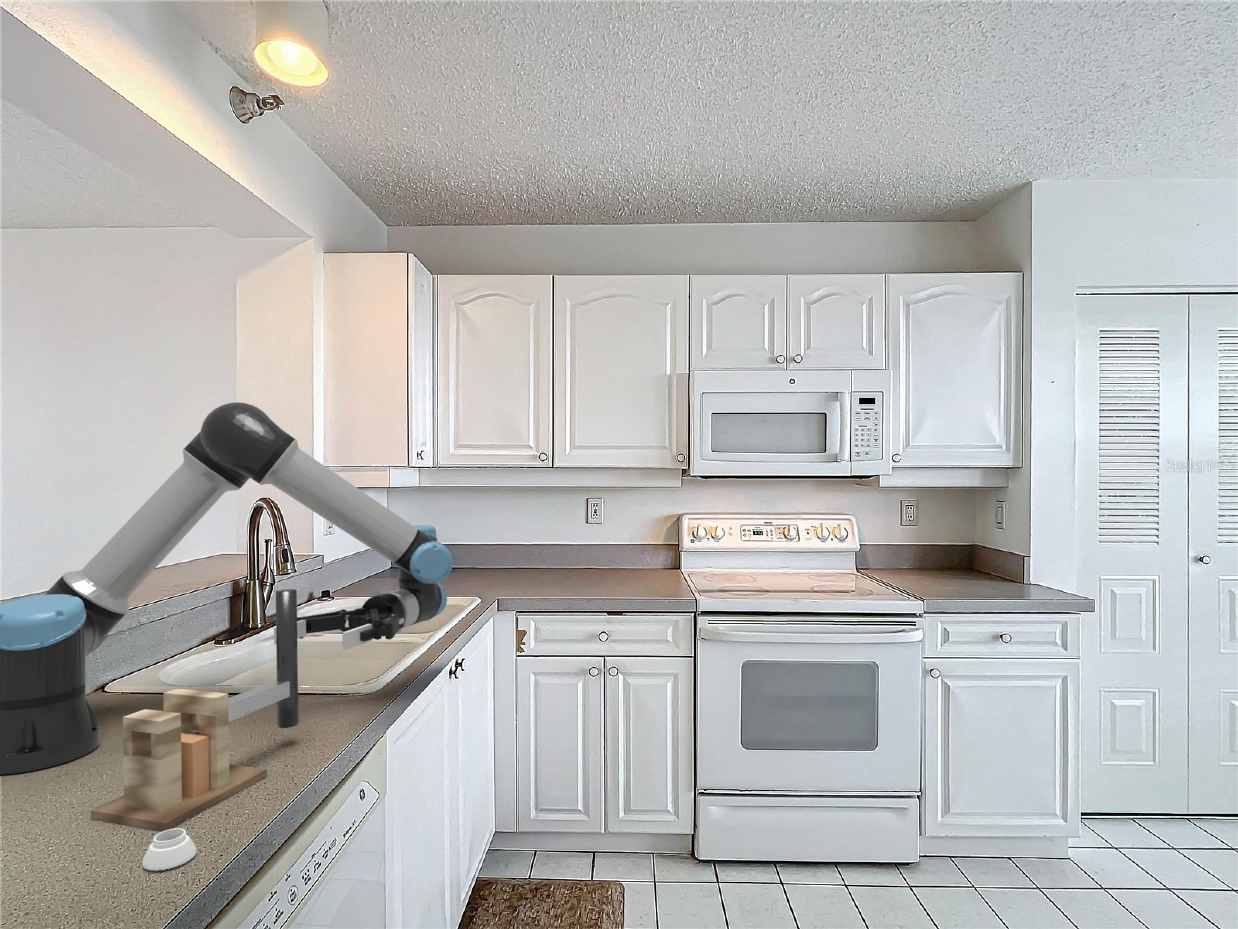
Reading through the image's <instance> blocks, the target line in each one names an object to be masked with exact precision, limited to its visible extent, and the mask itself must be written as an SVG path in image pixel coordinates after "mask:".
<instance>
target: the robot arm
mask: <svg viewBox="0 0 1238 929" xmlns="http://www.w3.org/2000/svg"><path fill="white" fill-rule="evenodd" d="M182 456H183V460H182V463H181V464H180V466H179V467H178V468H177V469H176V470H175V471H174V472H173V473H172V474H171V475H170V476H169V477H167V479H166V480H165V481H164V482H163V483H162V484H161V486H160V487H158V489H157V490H156V491H155V492H154V493H153V494H152V495H151V496H150V497H149V498H148V499H147V500H146V501H145V502H144V503H143V504H142V506H140V508H139V509H137V511H136V512H135V513H133V515H132V516H131V517H130V518H129V519H128V520H127V521H126V522H125V523H124V524H123V525H122V527H121V528H120V529H119V530H118V531H117V532H116V533H115V534H114V535H113V536H112V537H111V538H110V539H109V540H108V541H107V543H105V544H104V545H103V547H101V549H100V550H99V551H98V552H97V553H95V555H94V556H93V557H92V558H91V559H90V561H88V563H86V564H85V566H83V568H82V569H79V570H74V571H73V570H72V571H67V572H64V573H63V574H62V576H60V578H59V579H58V580H57V581H56V582H55V583H53V585H52V586H51V587H50V588H49V589H48V590H47V591H46V592H45V593H44V594H43V595H42V594H41V595H40V594H39V595H34V596H26V597H23V598H19V599H18V600H10V601H8V602H5V603H3V604H0V775H11V774H20V773H28V772H33V771H38V770H43V769H48V768H51V767H55V766H58V765H62V764H64V763H68V762H71V761H74V760H77V759H79V758H81V757H83V756H85V755H88V754H89V753H91V752H93V751H94V750H96V749H97V748H98V747H99V745H101V730H100V729H101V728H100V727H99V724H98V722H97V720H96V717H95V715H94V712H93V710H92V708H91V706H90V705H91V704H89V702H88V699H87V696H86V695H87V694H86V693H87V692H86V657H88V655H89V654H91V653H93V652H94V651H95V650H96V649H98V648H99V646H101V645H102V644H103V642H104V641H105V640H106V639H107V635H109V633H110V632H111V631H112V630H113V629H114V628H115V627H116V626H117V624H118V623H120V621H121V620H122V619H123V618H124V617H125V616H126V615H127V613H128V612H129V611H130V608H129V598H130V596H131V595H132V594H134V592H136V590H138V588H139V587H140V586H141V585H142V583H144V582H145V580H146V579H147V578H148V577H149V576H150V574H152V573H153V572H154V570H155V569H156V568H157V567H158V566H159V565H160V564H161V563H162V562H163V560H164V559H166V557H167V556H168V555H169V554H170V553H171V552H172V551H173V550H174V549H175V547H176V546H177V545H179V543H180V542H181V541H183V538H185V537H186V535H187V534H189V532H191V530H192V529H193V528H194V527H195V526H196V525H197V523H199V521H200V520H201V519H202V518H203V517H204V516H205V515H206V514H207V512H208V511H209V510H211V508H212V507H213V506H214V505H215V504H216V503H217V502H218V501H219V500H220V498H221V497H222V496H224V494H225V493H226V492H230V491H239V490H240V489H241V488H242V487H244V485H245V484H246V483H247V482H248V481H249V480H250V479H251V480H253V481H254V482H256V483H258V485H260V486H262V485H263V486H264V485H272V487H275V489H276V488H277V490H280V491H281V492H282V493H284V494H286V495H287V496H289V497H291V498H292V499H294V500H295V501H296V502H298V503H300V504H302V505H303V506H304V507H306V508H308V509H309V510H310V511H312V512H314V513H315V514H317V515H319V516H320V517H322V519H325V520H326V521H328V522H329V523H331V524H332V525H334V526H335V527H337V528H339V529H340V530H341V531H343V532H345V533H346V534H348V535H350V536H351V537H353V538H355V540H357V541H359V542H361V543H362V544H363V545H364V546H366V547H369V549H371V550H373V551H375V552H376V553H378V555H380V556H382V557H383V558H385V559H387V560H388V561H390V562H391V563H392V564H394V565H396V566H397V567H398V589H395V590H391V591H387V592H385V593H382V594H378V595H374V596H371V597H369V598H368V599H367V600H366V601H365V602H364V603H363V605H362V606H361V607H359V608H355V609H353V610H347V609H340V610H335V611H331V612H324V613H319V614H313V615H304V616H300V617H299V616H297V639H299V640H301V639H304V637H306V636H307V634H316V633H322V632H331V631H338V630H339V631H341V632H342V650H345V651H347V650H349V649H353V648H354V647H358V646H361V645H363V644H366V643H369V642H372V641H373V640H377V641H379V640H382V637H385V640H387V641H388V640H392V639H393V638H395V636H396V635H397V633H401V632H402V629H406V628H408V627H410V626H414V625H416V624H420V623H422V622H428V621H430V620H431V619H433V618H435V617H437V616H438V615H440V614H441V613H443V611H444V610H445V609H446V606H447V605H448V595H447V594H448V593H447V592H446V590H445V588H444V587H443V585H442V584H441V583H440V582H443V581H444V580H445V579H446V578H447V577H448V576H449V575H450V573H451V571H452V569H453V564H454V563H453V562H454V560H453V556H452V554H451V552H450V550H449V549H448V547H447V546H445V545H444V544H443V543H441V542H438V538H437V529H436V528H435V526H433V525H428V524H427V525H426V524H425V525H424V524H423V525H422V524H421V525H419V524H417V525H413V524H411V523H410V522H409V521H407V520H406V519H404V518H402V517H401V516H400V515H398V514H396V513H395V512H393V511H392V510H391V509H389V508H387V507H386V506H384V505H383V504H382V503H380V502H378V500H376V499H374V498H373V497H372V496H370V495H369V494H367V493H365V492H364V491H363V490H361V489H360V488H358V487H357V486H355V485H354V484H352V483H351V482H349V481H348V480H346V479H345V478H343V477H342V476H340V475H338V473H336V472H335V471H333V470H332V469H331V468H329V467H327V466H325V465H324V464H323V463H321V462H320V461H318V460H316V459H315V458H314V457H313V456H311V455H309V454H308V453H306V452H304V451H303V450H301V449H300V448H299V443H298V440H297V439H296V438H294V437H293V436H292V435H290V434H289V433H287V432H286V431H285V430H283V429H282V427H280V426H279V425H277V424H276V423H275V422H274V420H272V419H271V418H270V417H269V415H267V414H266V412H264V411H263V410H262V409H260V408H259V407H257V406H255V405H253V404H249V403H246V402H241V401H240V402H238V401H237V402H229V403H224V404H222V405H219V406H218V407H216V408H214V409H213V410H212V411H210V412H209V413H208V414H207V416H206V417H205V419H204V420H203V422H202V424H201V428H200V430H199V432H198V433H197V434H196V435H195V436H194V438H192V440H191V441H190V442H189V443H188V444H187V445H186V446H185V447H184V448H183V449H182ZM347 623H348V624H347ZM346 624H347V625H348V626H346ZM273 645H276V627H273Z"/></svg>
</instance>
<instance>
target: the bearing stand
mask: <svg viewBox="0 0 1238 929" xmlns="http://www.w3.org/2000/svg"><path fill="white" fill-rule="evenodd" d="M162 695H163V711H162V710H157V709H156V710H155V709H146V708H145V709H141V710H139V711H137V712H133V713H131V714H128V715H125V716H123V717H122V746H123V748H122V750H123V751H122V755H123V757H122V758H123V762H122V764H123V795H121V796H119V797H116V798H115V799H113V800H110V801H109V802H106V803H104V804H102V805H100V806H97V807H96V808H92V809H91V810H90V820H91V819H92V820H97V821H101V822H102V821H103V822H109V823H114V824H118V825H124V826H125V825H126V826H131V827H136V828H141V829H149V830H154V831H158V832H159V831H160V832H163V831H166V830H169V829H174V828H176V825H177V826H179V825H180V824H182V823H184V822H185V820H186V821H188V820H190V819H191V818H193V817H195V816H197V815H199V814H200V812H201V811H202V812H205V811H206V810H208V809H209V808H211V807H213V805H214V806H215V805H217V804H219V803H220V802H222V801H224V800H227V799H228V798H230V797H232V796H234V795H236V794H237V792H238V793H239V792H241V791H243V790H245V789H247V788H248V787H251V786H252V785H255V784H256V783H258V782H260V781H262V780H264V779H265V778H267V777H268V772H267V771H268V769H266V768H259V767H258V768H257V767H251V766H243V765H237V764H235V765H234V764H230V726H229V725H230V722H229V706H228V698H229V693H224V692H215V691H205V690H197V689H196V690H195V689H185V688H174V689H171V690H167V691H165V692H163V694H162ZM191 714H199V731H194V730H191ZM181 733H185V734H193V735H202V736H209V790H207V791H205V792H203V793H202V794H200V795H198V796H196V797H194V798H191V797H184V796H182V767H181ZM233 794H234V795H233ZM207 808H208V809H207ZM205 809H206V810H205ZM202 812H201V813H202ZM198 813H199V814H198ZM196 814H197V815H196ZM194 815H195V816H194ZM192 816H193V817H192ZM187 819H188V820H187ZM183 821H184V822H183Z"/></svg>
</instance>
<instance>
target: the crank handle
mask: <svg viewBox="0 0 1238 929" xmlns="http://www.w3.org/2000/svg"><path fill="white" fill-rule="evenodd" d="M297 595H298V590H297V589H295V588H287V589H286V588H285V589H279V590H275V628H276V644H275V646H276V647H275V649H276V651H275V652H276V679H275V680H273V681H270V682H267V683H266V684H265V683H264V684H262V685H260V686H257V687H255V688H252V689H248V690H246V691H244V692H242V693H239V694H237V695H233V696H230V697H228V706H229V723H230V722H232V721H234V720H237V719H239V718H242V717H244V716H246V715H249V714H251V713H253V712H256V711H259V710H261V709H263V708H266V707H268V706H270V705H273V704H277V705H276V709H277V712H276V714H277V716H276V717H277V722H276V723H277V725H276V726H277V728H278V729H289V728H293V727H296V726H298V724H299V671H298V670H299V668H298V667H299V664H298V662H299V660H298V658H299V657H298V638H297V617H298V606H297V605H298V597H297ZM191 730H193V731H197V732H199V714H191Z"/></svg>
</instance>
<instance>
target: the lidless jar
mask: <svg viewBox="0 0 1238 929" xmlns="http://www.w3.org/2000/svg"><path fill="white" fill-rule="evenodd" d="M196 854H197V846H196V844H195V843H194V842H193V839H191V837H190V835H188V834H187V831H186V830H185V829H184V828H179V827H177V828H176V827H174V828H171V829H169V830H166V831H160V832H158V833H157V834H156V835H154V837H153V840H152V843H151V844H150V845H149V846H148V848H147V850H146V853H145V854H144V857H143V859H142V868H144V869H145V870H147V871H157V872H158V871H159V870H161V871H167V870H166V869H168V870H171V869H174V867H175V868H177V866H178V867H180V866H182V865H184V864H186V863H187V862H189V861H190V860H191V859H193V858H194V857H195V855H196ZM179 865H180V866H179ZM170 868H171V869H170Z"/></svg>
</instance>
